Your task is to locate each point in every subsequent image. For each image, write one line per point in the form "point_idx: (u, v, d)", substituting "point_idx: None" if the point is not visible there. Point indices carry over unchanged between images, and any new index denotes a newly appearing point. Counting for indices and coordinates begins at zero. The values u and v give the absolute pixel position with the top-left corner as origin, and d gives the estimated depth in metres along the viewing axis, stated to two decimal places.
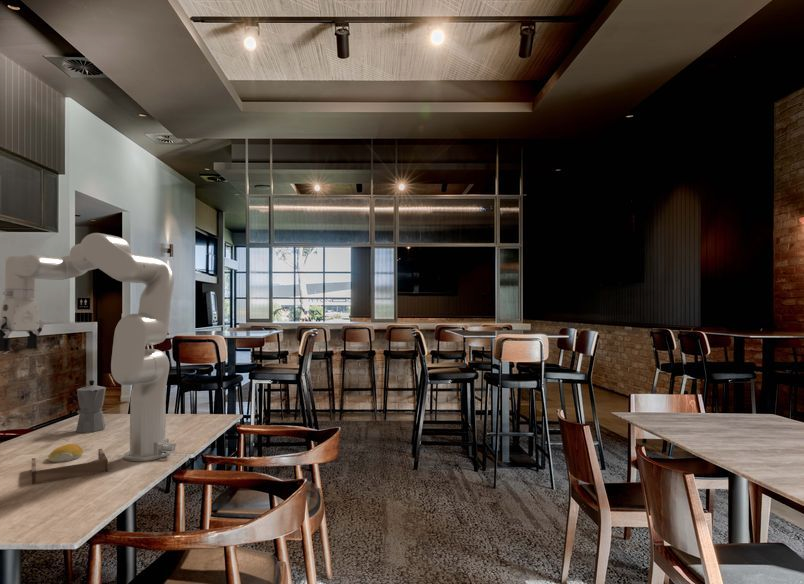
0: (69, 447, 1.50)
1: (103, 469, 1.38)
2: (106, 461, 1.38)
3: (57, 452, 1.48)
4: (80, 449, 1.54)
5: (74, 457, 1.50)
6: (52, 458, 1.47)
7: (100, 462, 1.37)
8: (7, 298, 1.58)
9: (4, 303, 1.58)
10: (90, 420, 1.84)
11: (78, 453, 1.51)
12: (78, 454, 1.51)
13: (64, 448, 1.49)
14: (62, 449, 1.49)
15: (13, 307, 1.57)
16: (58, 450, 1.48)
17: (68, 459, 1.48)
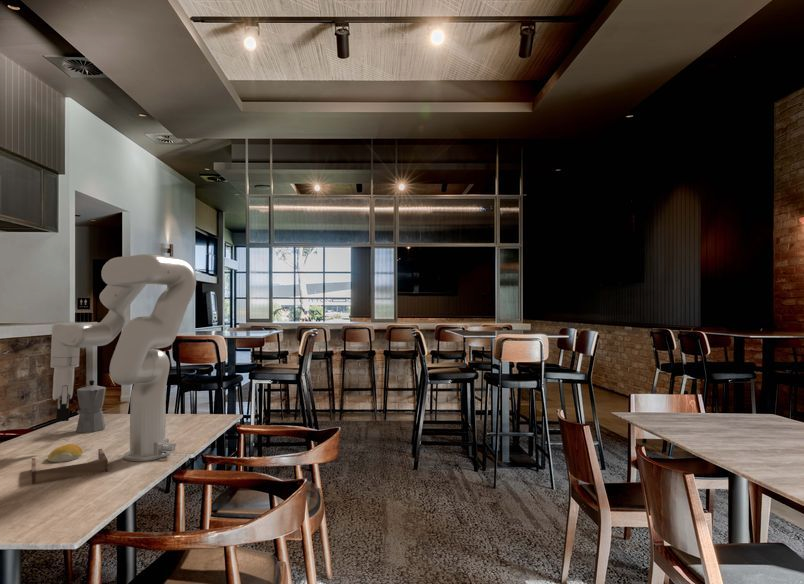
0: (69, 447, 1.50)
1: (103, 469, 1.38)
2: (106, 461, 1.38)
3: (57, 452, 1.48)
4: (80, 449, 1.54)
5: (74, 457, 1.49)
6: (52, 458, 1.47)
7: (100, 462, 1.37)
8: None
9: None
10: (90, 420, 1.84)
11: (78, 453, 1.51)
12: (78, 454, 1.50)
13: (64, 448, 1.49)
14: (62, 449, 1.49)
15: None
16: (58, 450, 1.48)
17: (68, 459, 1.48)
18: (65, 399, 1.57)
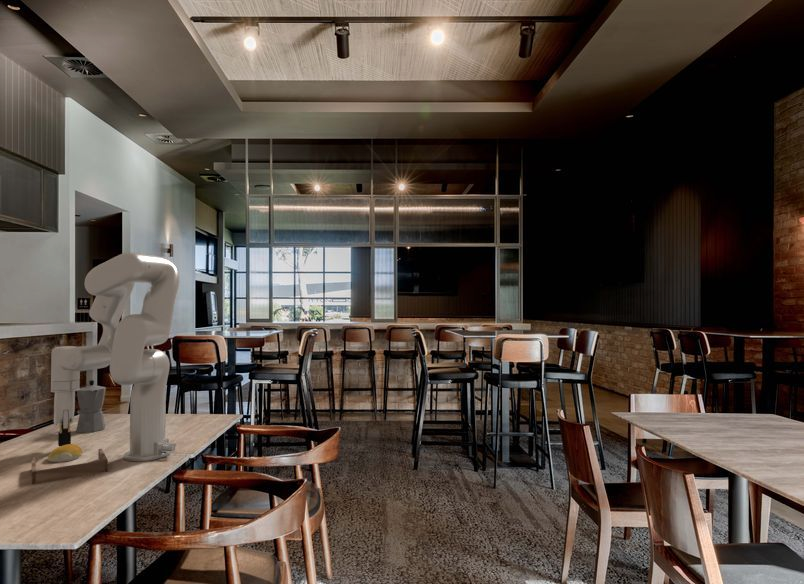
0: (69, 447, 1.50)
1: (103, 469, 1.38)
2: (106, 461, 1.38)
3: (57, 452, 1.48)
4: (80, 449, 1.54)
5: (74, 457, 1.49)
6: (52, 458, 1.47)
7: (100, 462, 1.37)
8: None
9: None
10: (90, 420, 1.84)
11: (78, 453, 1.50)
12: (78, 454, 1.50)
13: (64, 448, 1.49)
14: (62, 449, 1.49)
15: None
16: (58, 450, 1.48)
17: (68, 459, 1.48)
18: (66, 423, 1.56)
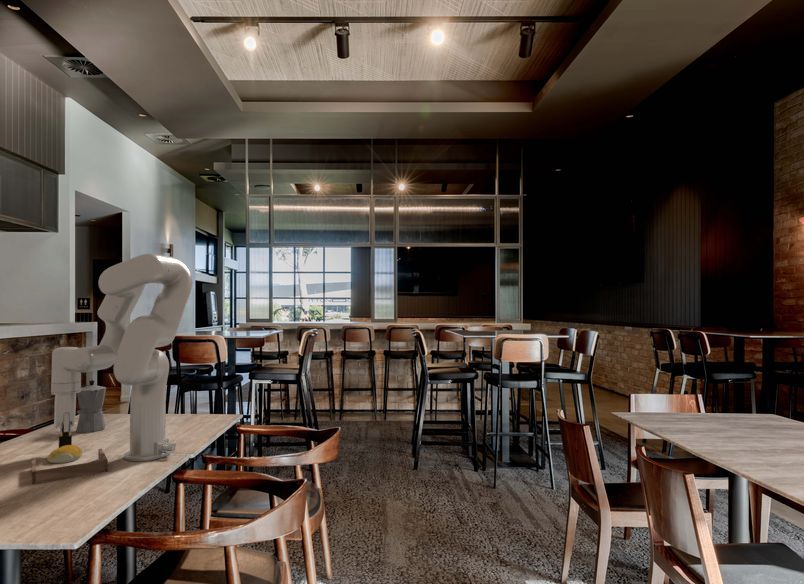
0: (69, 448, 1.49)
1: (103, 469, 1.38)
2: (106, 461, 1.38)
3: (58, 453, 1.46)
4: (79, 450, 1.53)
5: (75, 458, 1.48)
6: (52, 459, 1.46)
7: (100, 462, 1.37)
8: None
9: None
10: (90, 420, 1.84)
11: (78, 454, 1.50)
12: (78, 455, 1.49)
13: (64, 449, 1.48)
14: (62, 450, 1.47)
15: None
16: (58, 451, 1.47)
17: (68, 460, 1.47)
18: (67, 427, 1.51)
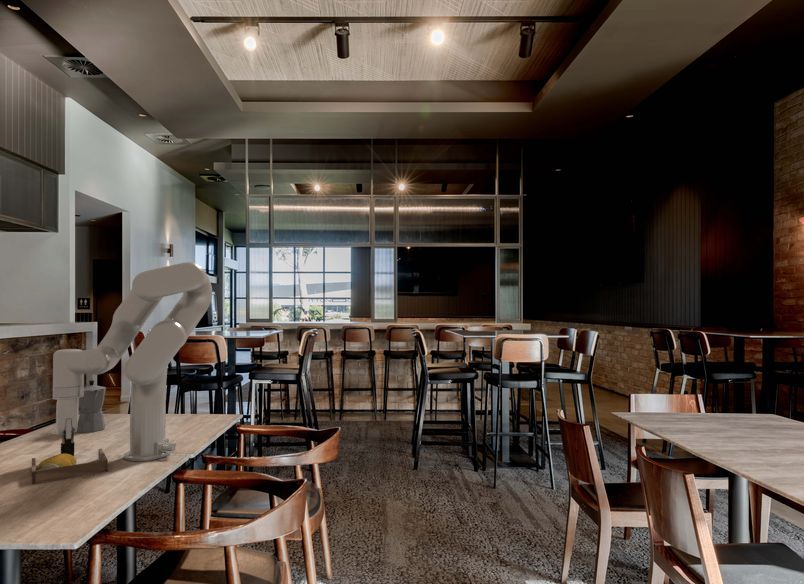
0: (58, 458, 1.39)
1: (103, 469, 1.38)
2: (106, 461, 1.38)
3: (45, 463, 1.37)
4: (72, 460, 1.43)
5: None
6: (39, 469, 1.37)
7: (100, 462, 1.37)
8: None
9: None
10: (90, 420, 1.84)
11: (67, 465, 1.39)
12: None
13: (52, 458, 1.38)
14: (50, 459, 1.38)
15: None
16: (46, 460, 1.38)
17: None
18: (69, 433, 1.43)
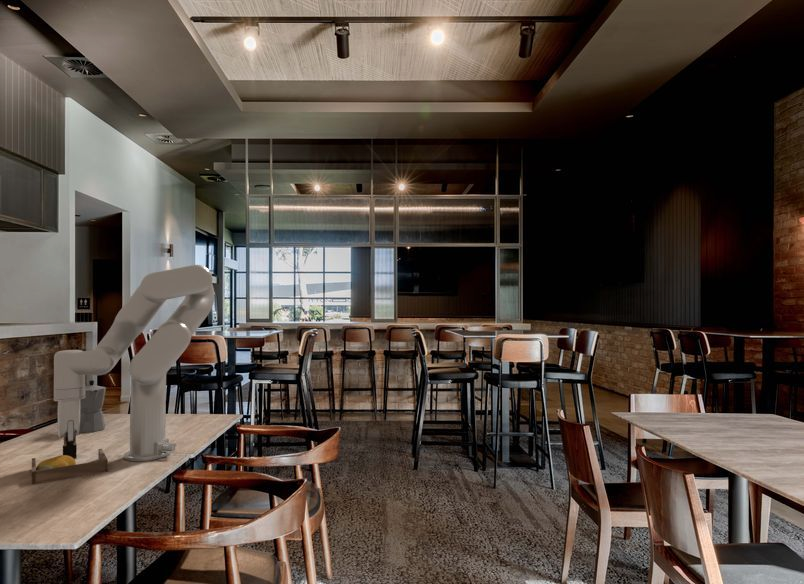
0: (55, 460, 1.37)
1: (103, 469, 1.38)
2: (106, 461, 1.38)
3: (41, 465, 1.35)
4: (71, 462, 1.40)
5: None
6: None
7: (100, 462, 1.37)
8: None
9: None
10: (90, 420, 1.84)
11: None
12: None
13: (49, 460, 1.36)
14: (47, 461, 1.36)
15: None
16: (43, 462, 1.36)
17: None
18: (71, 435, 1.41)
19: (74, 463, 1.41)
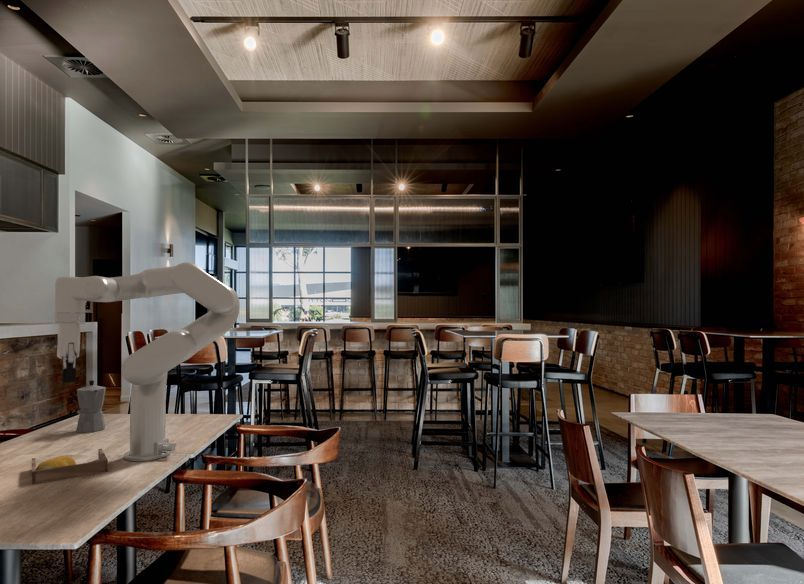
0: (54, 461, 1.37)
1: (103, 469, 1.38)
2: (106, 461, 1.38)
3: (41, 465, 1.35)
4: (71, 463, 1.40)
5: None
6: None
7: (100, 462, 1.37)
8: None
9: None
10: (90, 420, 1.84)
11: None
12: None
13: (49, 461, 1.36)
14: (46, 462, 1.36)
15: None
16: (43, 463, 1.36)
17: None
18: (72, 357, 1.46)
19: (74, 464, 1.40)
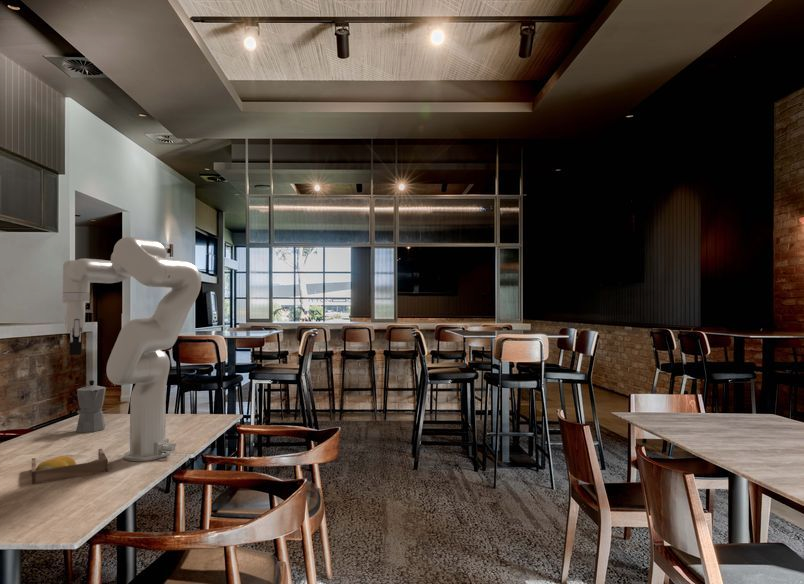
0: (55, 461, 1.37)
1: (103, 469, 1.38)
2: (106, 461, 1.38)
3: (41, 466, 1.35)
4: (71, 463, 1.40)
5: None
6: None
7: (100, 462, 1.37)
8: None
9: None
10: (90, 420, 1.84)
11: None
12: None
13: (49, 461, 1.36)
14: (46, 462, 1.36)
15: None
16: (43, 463, 1.36)
17: None
18: (77, 332, 1.63)
19: (74, 464, 1.40)
